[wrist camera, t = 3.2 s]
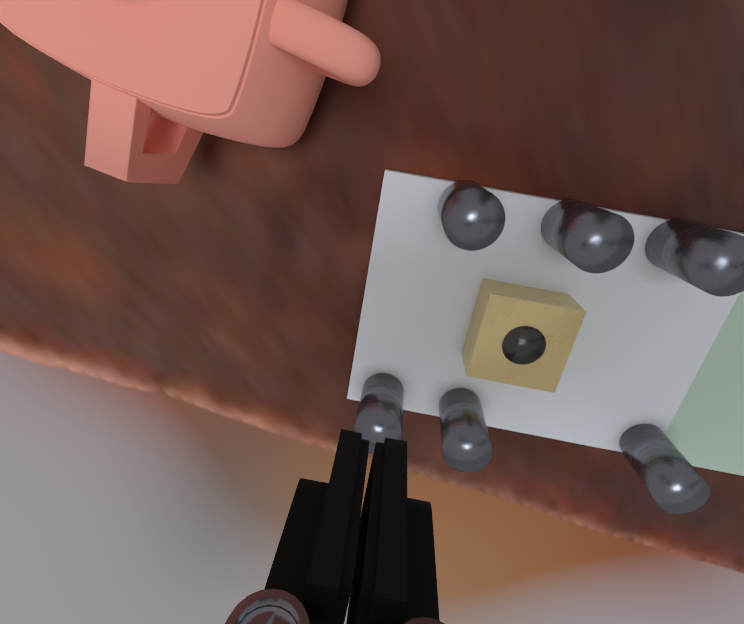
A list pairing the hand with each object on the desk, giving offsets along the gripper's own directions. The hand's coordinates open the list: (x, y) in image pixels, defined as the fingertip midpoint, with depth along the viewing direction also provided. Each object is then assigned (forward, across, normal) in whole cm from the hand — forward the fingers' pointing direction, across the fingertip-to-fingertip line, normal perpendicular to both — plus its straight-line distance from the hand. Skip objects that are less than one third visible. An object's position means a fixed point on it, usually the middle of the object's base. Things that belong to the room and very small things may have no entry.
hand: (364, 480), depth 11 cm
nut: (+13, -7, 0) cm, 14 cm away
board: (+13, -12, 0) cm, 18 cm away
